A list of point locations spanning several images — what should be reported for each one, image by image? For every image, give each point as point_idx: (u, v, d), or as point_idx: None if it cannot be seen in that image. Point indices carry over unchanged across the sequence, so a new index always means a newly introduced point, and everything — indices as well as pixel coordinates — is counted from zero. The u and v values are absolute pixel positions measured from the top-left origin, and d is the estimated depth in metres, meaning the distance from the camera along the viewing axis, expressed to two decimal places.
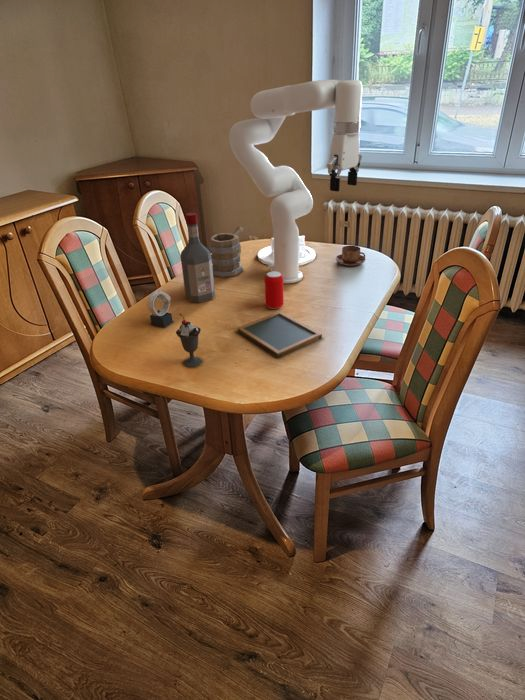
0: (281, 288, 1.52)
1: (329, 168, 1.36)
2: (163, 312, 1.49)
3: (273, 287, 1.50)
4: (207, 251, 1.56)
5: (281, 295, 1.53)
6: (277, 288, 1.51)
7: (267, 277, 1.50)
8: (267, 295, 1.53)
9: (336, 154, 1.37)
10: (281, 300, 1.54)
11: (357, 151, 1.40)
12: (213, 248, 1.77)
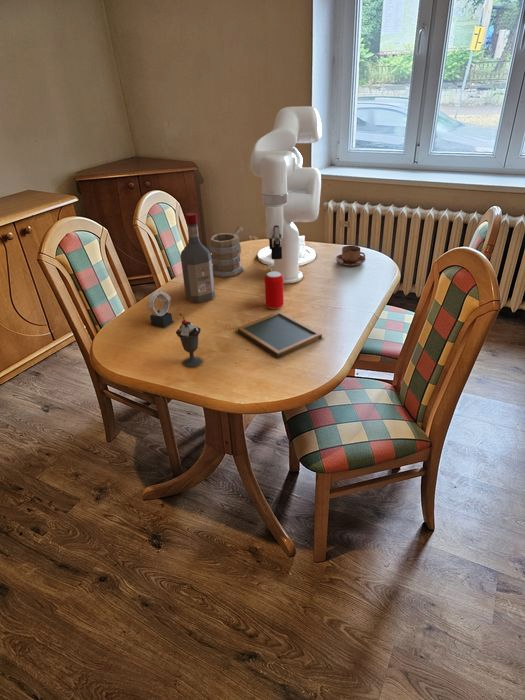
0: (281, 288, 1.52)
1: (277, 239, 1.37)
2: (163, 312, 1.49)
3: (273, 287, 1.50)
4: (207, 251, 1.56)
5: (281, 295, 1.53)
6: (277, 288, 1.51)
7: (267, 277, 1.50)
8: (267, 295, 1.53)
9: (276, 225, 1.38)
10: (281, 300, 1.54)
11: None
12: (213, 248, 1.77)
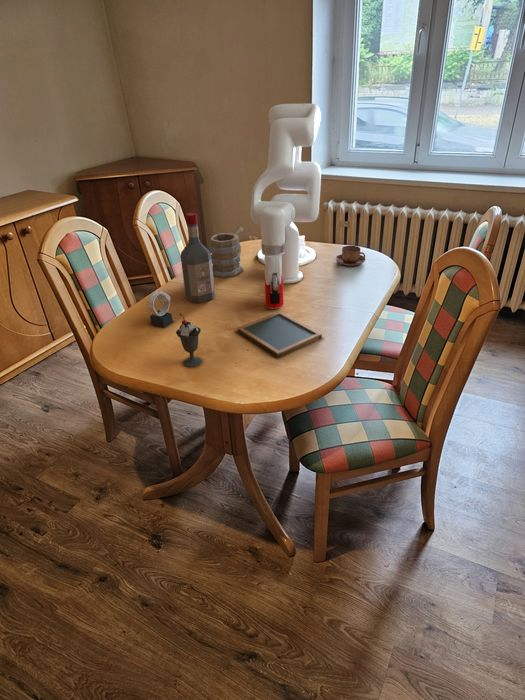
0: (281, 288, 1.52)
1: (275, 289, 1.46)
2: (163, 312, 1.49)
3: None
4: (207, 251, 1.56)
5: (281, 295, 1.53)
6: None
7: None
8: (267, 295, 1.53)
9: (275, 273, 1.46)
10: (281, 300, 1.54)
11: None
12: (213, 248, 1.77)
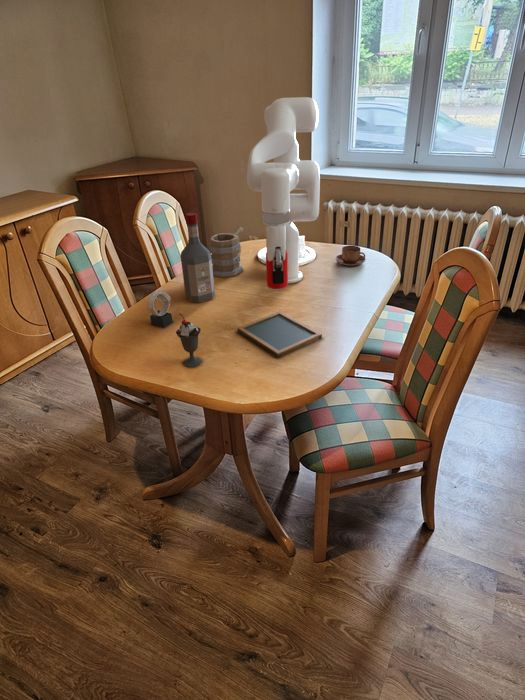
0: (285, 265, 1.30)
1: (279, 266, 1.25)
2: (163, 312, 1.49)
3: None
4: (207, 251, 1.56)
5: (285, 273, 1.31)
6: None
7: None
8: (269, 273, 1.31)
9: (278, 246, 1.24)
10: (285, 279, 1.32)
11: None
12: (213, 248, 1.77)
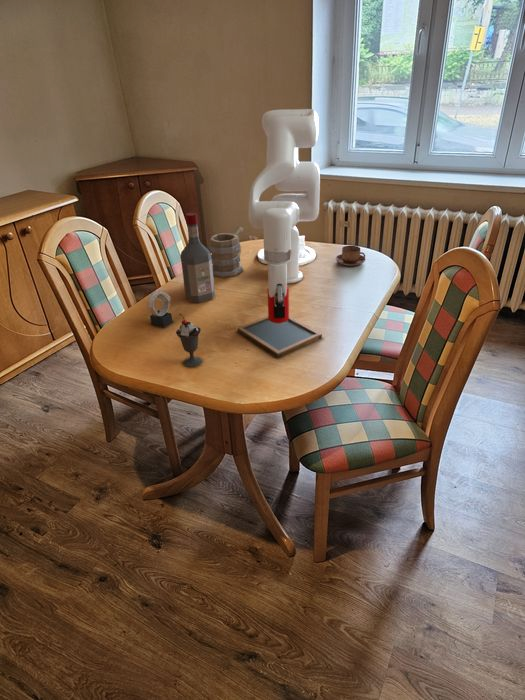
0: (286, 300, 1.33)
1: (280, 302, 1.27)
2: (163, 312, 1.49)
3: None
4: (207, 251, 1.56)
5: (286, 308, 1.34)
6: None
7: None
8: (270, 308, 1.34)
9: (279, 283, 1.26)
10: (286, 314, 1.35)
11: None
12: (213, 248, 1.77)
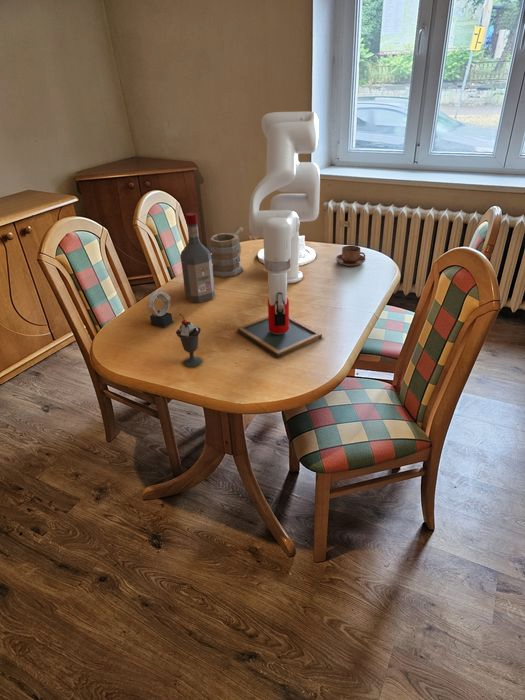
0: (286, 312, 1.35)
1: (280, 308, 1.27)
2: (163, 312, 1.49)
3: None
4: (207, 251, 1.56)
5: (286, 319, 1.36)
6: None
7: None
8: (271, 319, 1.36)
9: (279, 292, 1.28)
10: (286, 325, 1.37)
11: None
12: (213, 248, 1.77)
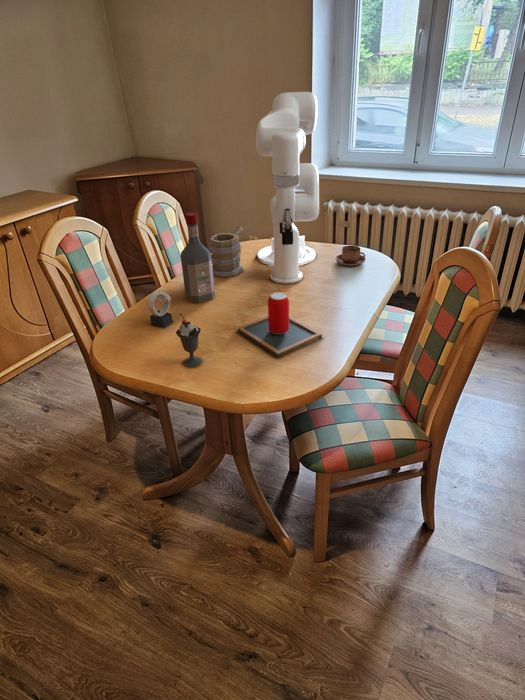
0: (286, 312, 1.35)
1: (288, 224, 1.28)
2: (163, 312, 1.49)
3: (278, 311, 1.33)
4: (207, 251, 1.56)
5: (286, 319, 1.36)
6: (282, 311, 1.33)
7: (271, 299, 1.33)
8: (271, 319, 1.36)
9: (287, 208, 1.29)
10: (286, 325, 1.37)
11: None
12: (213, 248, 1.77)
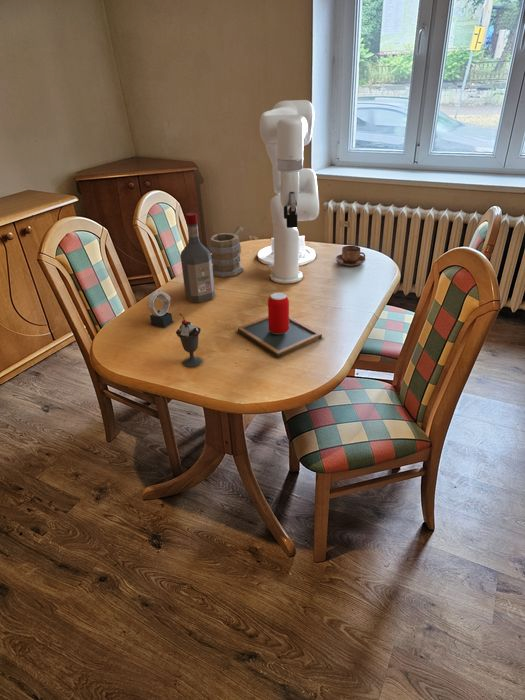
0: (286, 312, 1.35)
1: (293, 206, 1.33)
2: (163, 312, 1.49)
3: (278, 311, 1.33)
4: (207, 251, 1.56)
5: (286, 319, 1.36)
6: (282, 311, 1.33)
7: (271, 299, 1.33)
8: (271, 319, 1.36)
9: (292, 191, 1.34)
10: (286, 325, 1.37)
11: None
12: (213, 248, 1.77)
